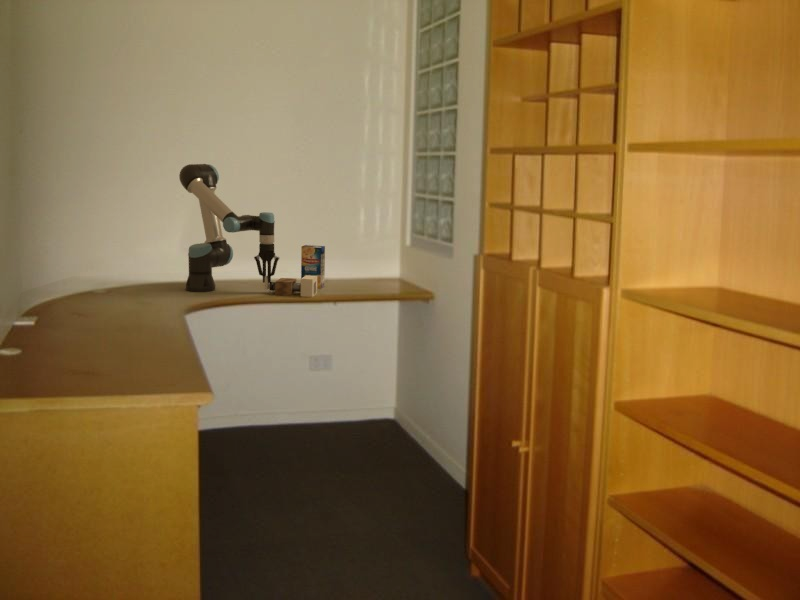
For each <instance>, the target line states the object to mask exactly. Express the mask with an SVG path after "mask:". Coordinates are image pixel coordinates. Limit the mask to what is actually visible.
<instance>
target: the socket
mask: <svg viewBox="0 0 800 600" xmlns="http://www.w3.org/2000/svg"><path fill="white" fill-rule="evenodd" d="M300 283H301V292H300V297H305V298H306V297H309V298H313V297H314V296H316V295H317V293H318V289H317V276H309V275H306V276H304V277H303V278H301V277H300Z"/></svg>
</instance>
